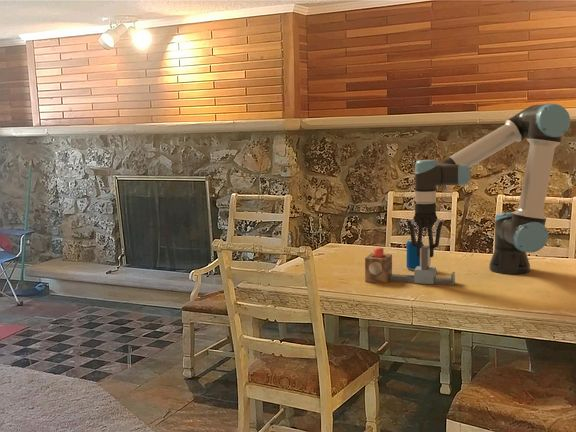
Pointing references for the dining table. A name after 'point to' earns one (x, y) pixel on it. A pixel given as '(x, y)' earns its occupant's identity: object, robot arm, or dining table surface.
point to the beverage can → (412, 255)
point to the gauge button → (378, 252)
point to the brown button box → (378, 268)
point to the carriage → (424, 269)
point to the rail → (411, 279)
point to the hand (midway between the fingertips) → (425, 265)
